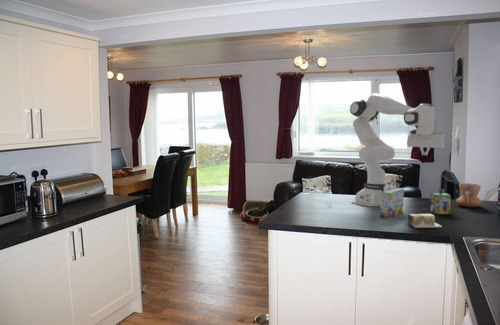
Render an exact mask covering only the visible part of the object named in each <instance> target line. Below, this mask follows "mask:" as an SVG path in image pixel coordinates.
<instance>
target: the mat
mask: <svg viewBox="0 0 500 325" xmlns="http://www.w3.org/2000/svg"><path fill="white" fill-rule="evenodd" d="M411 226H412V227H414V228H416V229H417V228H422V229H423V228H424V229H425V228H443V226H442V225H440V224H439V223H437V222H434V225H411Z"/></svg>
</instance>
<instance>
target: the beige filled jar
mask: <svg viewBox="0 0 500 325" xmlns="http://www.w3.org/2000/svg"><path fill="white" fill-rule="evenodd" d="M435 217H436V216H435V214H432V213H407V224H409V225H410V226H412V225H434V222H435V220H436V219H435ZM435 223H436V222H435Z"/></svg>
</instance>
